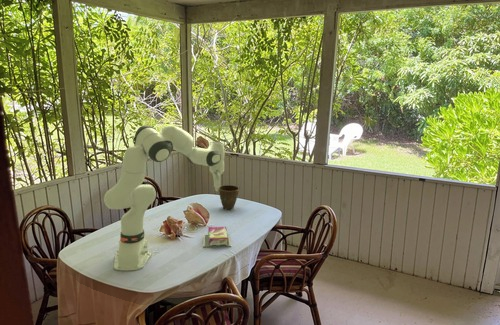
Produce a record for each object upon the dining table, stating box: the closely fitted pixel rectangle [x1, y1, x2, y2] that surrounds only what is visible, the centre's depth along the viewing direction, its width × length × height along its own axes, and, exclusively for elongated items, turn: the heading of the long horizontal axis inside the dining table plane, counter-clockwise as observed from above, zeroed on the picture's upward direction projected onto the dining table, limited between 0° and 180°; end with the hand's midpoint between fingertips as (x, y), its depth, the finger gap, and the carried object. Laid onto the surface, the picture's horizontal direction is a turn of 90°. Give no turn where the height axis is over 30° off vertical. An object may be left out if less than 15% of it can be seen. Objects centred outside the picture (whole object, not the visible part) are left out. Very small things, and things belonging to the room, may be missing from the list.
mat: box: [202, 233, 232, 248], centre depth 209 cm, size 16×16×1 cm
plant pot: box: [218, 184, 240, 211], centre depth 261 cm, size 15×15×16 cm
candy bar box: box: [207, 226, 229, 246], centre depth 209 cm, size 11×5×16 cm
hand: (216, 190), depth 212 cm, fingers closed
